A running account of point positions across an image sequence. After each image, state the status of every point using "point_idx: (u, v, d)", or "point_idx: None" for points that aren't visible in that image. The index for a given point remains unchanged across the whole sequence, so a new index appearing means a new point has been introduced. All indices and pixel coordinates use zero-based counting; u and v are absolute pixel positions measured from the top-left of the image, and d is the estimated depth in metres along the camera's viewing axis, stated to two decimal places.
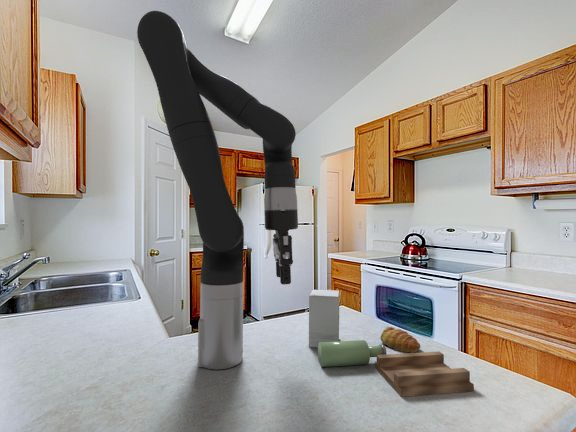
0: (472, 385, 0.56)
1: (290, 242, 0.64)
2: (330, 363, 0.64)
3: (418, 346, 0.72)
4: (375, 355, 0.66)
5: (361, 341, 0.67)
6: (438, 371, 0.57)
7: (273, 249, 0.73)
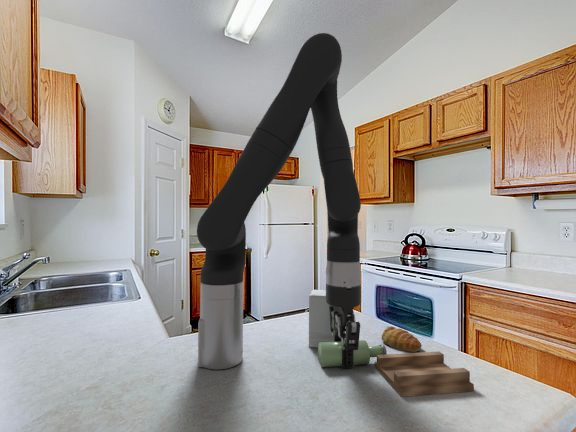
0: (472, 385, 0.56)
1: (358, 330, 0.60)
2: (330, 364, 0.64)
3: (419, 345, 0.73)
4: (375, 355, 0.66)
5: (361, 341, 0.67)
6: (438, 371, 0.57)
7: (332, 324, 0.69)
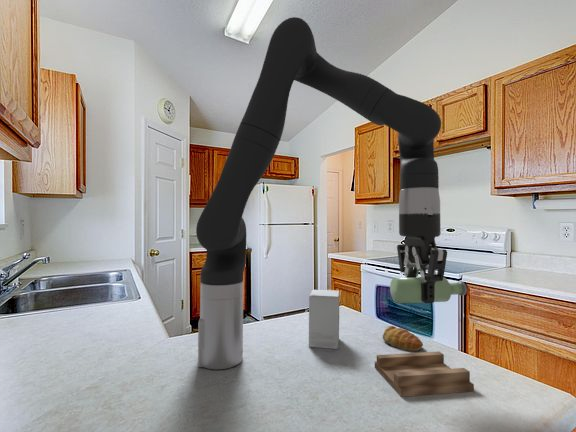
0: (472, 385, 0.56)
1: (445, 258, 0.55)
2: (409, 298, 0.58)
3: (421, 344, 0.73)
4: (455, 292, 0.61)
5: None
6: (438, 371, 0.57)
7: (404, 261, 0.63)
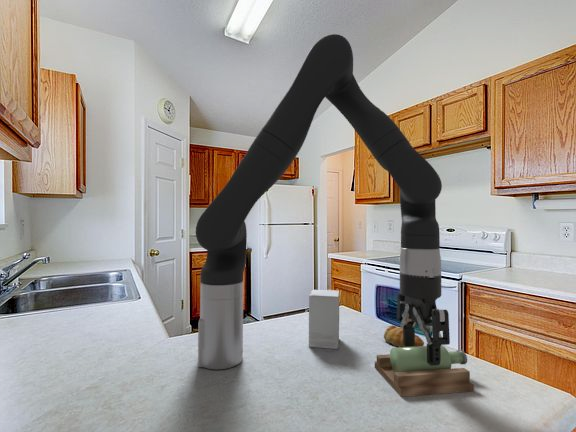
0: (472, 385, 0.56)
1: (447, 319, 0.54)
2: None
3: (422, 343, 0.74)
4: (455, 362, 0.60)
5: None
6: (438, 371, 0.57)
7: (403, 315, 0.64)
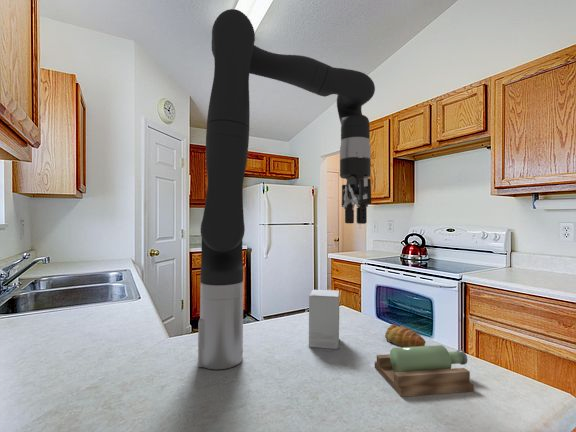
0: (472, 385, 0.56)
1: (369, 184, 0.70)
2: None
3: (424, 342, 0.75)
4: (455, 362, 0.60)
5: (439, 347, 0.61)
6: (438, 371, 0.57)
7: (344, 197, 0.80)
